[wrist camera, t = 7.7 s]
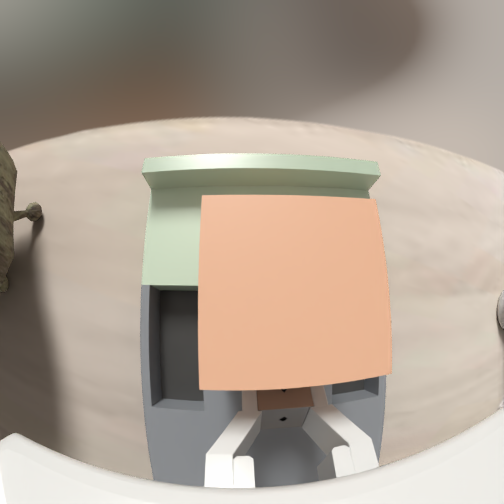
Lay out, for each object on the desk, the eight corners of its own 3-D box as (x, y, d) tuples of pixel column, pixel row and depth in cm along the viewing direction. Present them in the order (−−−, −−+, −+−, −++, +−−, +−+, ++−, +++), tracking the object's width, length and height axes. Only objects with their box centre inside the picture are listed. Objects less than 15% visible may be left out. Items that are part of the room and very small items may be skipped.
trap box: (362, 459, 14) (390, 484, 10) (164, 470, 13) (146, 501, 9) (352, 194, 19) (377, 161, 15) (162, 193, 19) (144, 158, 14)
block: (315, 352, 14) (391, 373, 6) (222, 355, 14) (199, 389, 6) (311, 262, 15) (375, 199, 7) (221, 263, 15) (201, 195, 7)
